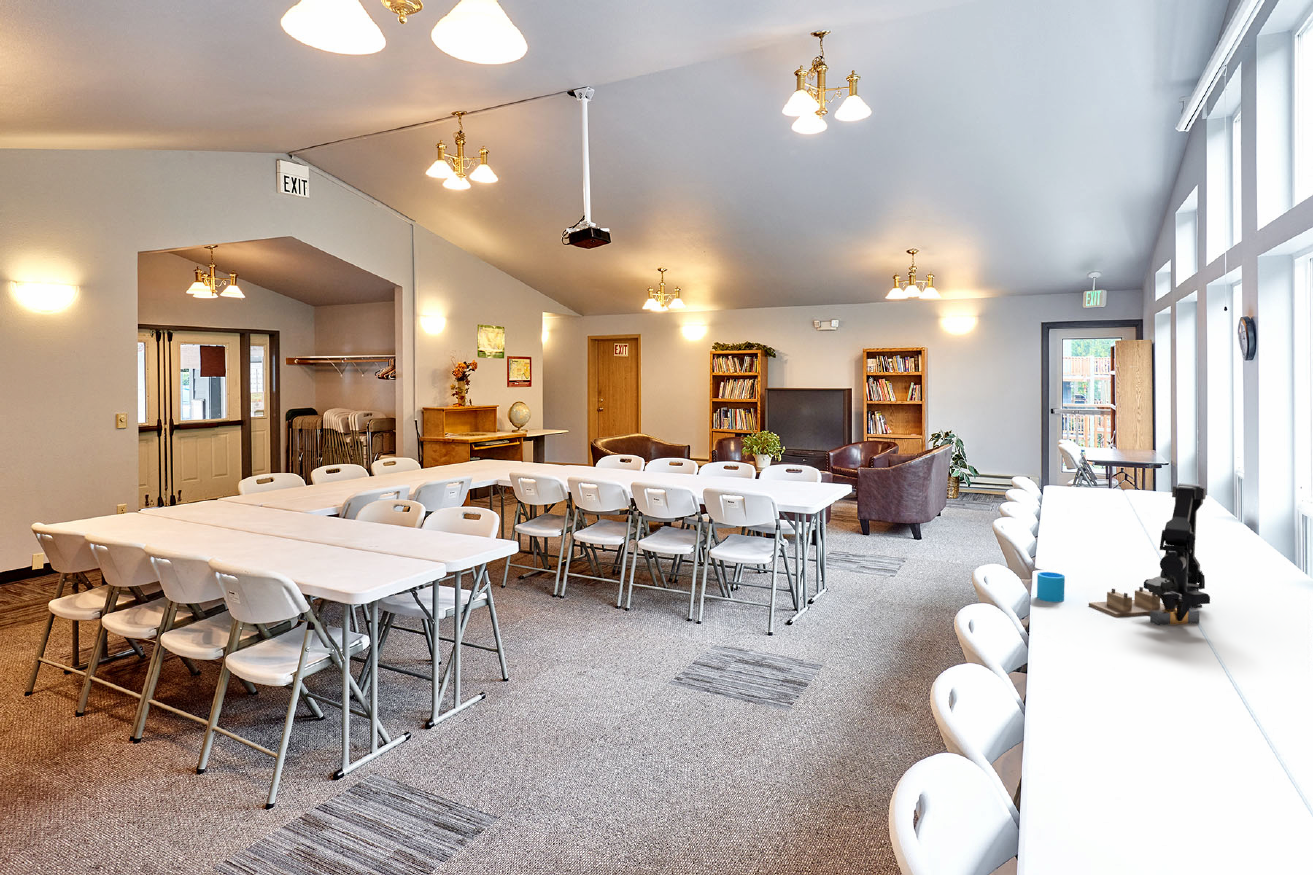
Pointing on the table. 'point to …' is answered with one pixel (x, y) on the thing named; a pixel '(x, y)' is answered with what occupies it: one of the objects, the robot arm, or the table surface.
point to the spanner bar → (1173, 617)
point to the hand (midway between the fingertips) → (1174, 618)
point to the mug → (1050, 586)
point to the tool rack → (1129, 603)
